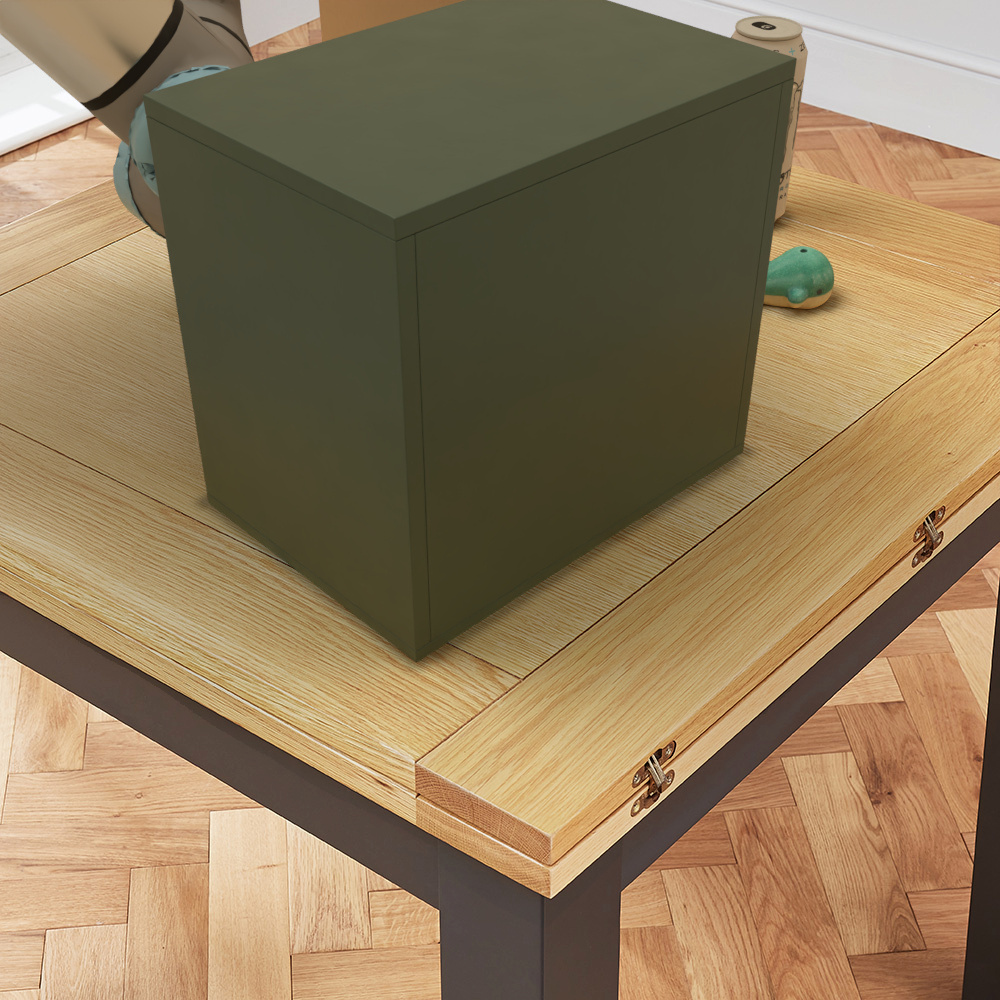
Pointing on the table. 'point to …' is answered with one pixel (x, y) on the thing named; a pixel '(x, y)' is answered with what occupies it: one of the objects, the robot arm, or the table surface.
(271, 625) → the table surface
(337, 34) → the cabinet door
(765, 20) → the energy drink can
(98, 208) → the table surface
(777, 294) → the whale figurine
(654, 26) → the cabinet
